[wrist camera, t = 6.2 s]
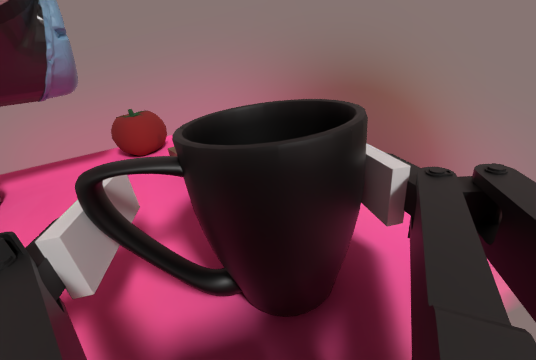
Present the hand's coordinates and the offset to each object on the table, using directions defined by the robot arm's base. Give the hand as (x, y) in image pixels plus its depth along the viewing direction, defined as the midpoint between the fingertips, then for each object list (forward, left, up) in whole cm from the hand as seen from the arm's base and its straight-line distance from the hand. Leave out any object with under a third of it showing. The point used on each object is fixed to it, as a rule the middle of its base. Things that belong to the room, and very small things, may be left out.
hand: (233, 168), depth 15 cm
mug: (+2, -3, -6) cm, 7 cm away
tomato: (-27, +19, -6) cm, 34 cm away
